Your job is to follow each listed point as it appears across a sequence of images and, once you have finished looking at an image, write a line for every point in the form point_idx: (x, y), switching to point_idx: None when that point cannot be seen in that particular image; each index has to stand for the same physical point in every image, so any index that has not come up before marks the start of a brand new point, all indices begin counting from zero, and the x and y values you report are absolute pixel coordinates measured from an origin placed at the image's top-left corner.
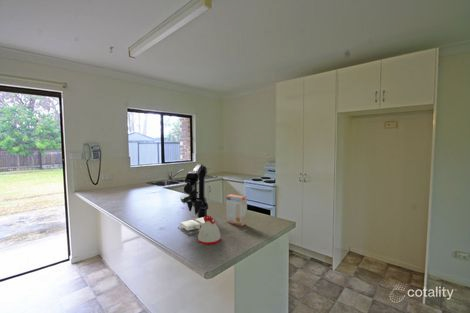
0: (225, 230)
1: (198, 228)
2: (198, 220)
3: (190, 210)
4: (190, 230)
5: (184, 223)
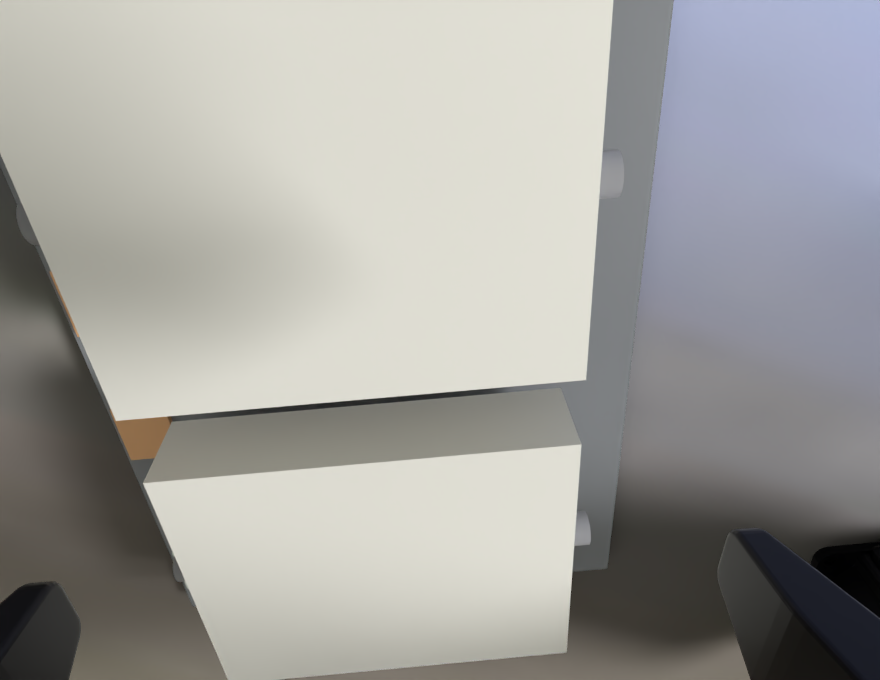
0: None
1: None
2: (412, 471)
3: (737, 589)
4: None
5: (387, 16)
